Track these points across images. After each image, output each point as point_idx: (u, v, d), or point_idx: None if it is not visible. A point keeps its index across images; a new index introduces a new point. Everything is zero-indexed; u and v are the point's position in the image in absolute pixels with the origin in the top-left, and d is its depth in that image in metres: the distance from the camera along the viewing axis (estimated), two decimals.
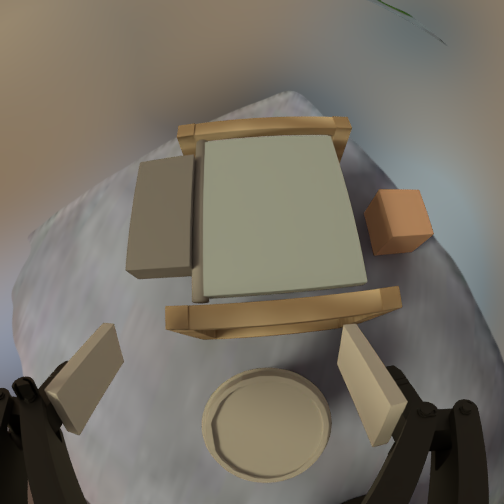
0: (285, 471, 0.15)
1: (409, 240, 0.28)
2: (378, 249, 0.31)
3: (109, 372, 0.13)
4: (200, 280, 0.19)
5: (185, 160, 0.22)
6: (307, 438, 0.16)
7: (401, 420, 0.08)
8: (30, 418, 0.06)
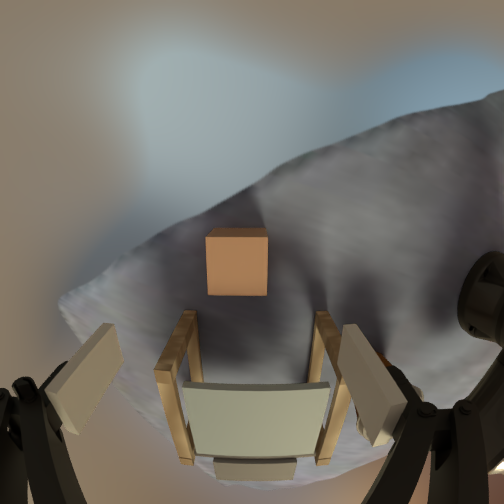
0: None
1: None
2: None
3: (109, 372, 0.13)
4: (304, 455, 0.26)
5: (218, 465, 0.26)
6: None
7: (401, 420, 0.08)
8: (30, 418, 0.06)
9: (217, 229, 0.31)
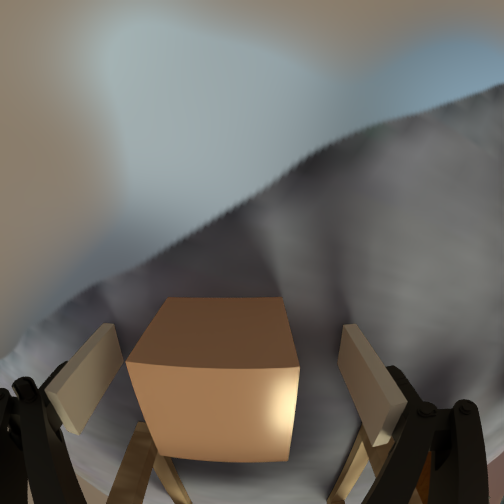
0: None
1: None
2: None
3: (109, 372, 0.13)
4: None
5: None
6: None
7: (401, 420, 0.08)
8: (30, 418, 0.06)
9: (171, 307, 0.13)
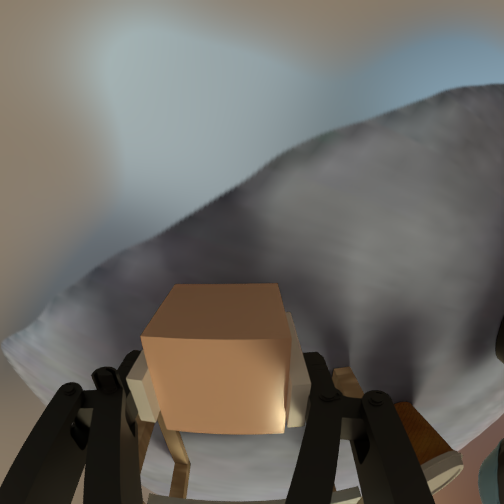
0: (456, 470, 0.14)
1: None
2: None
3: None
4: None
5: None
6: (444, 472, 0.14)
7: (308, 402, 0.10)
8: (105, 410, 0.08)
9: (178, 293, 0.15)
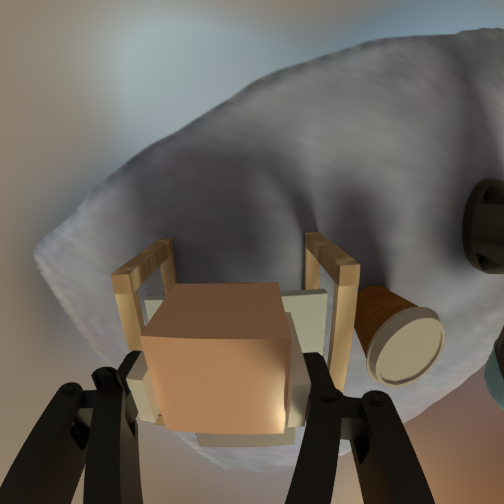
0: (439, 338, 0.23)
1: None
2: None
3: None
4: None
5: None
6: (423, 329, 0.22)
7: (308, 402, 0.10)
8: (105, 410, 0.08)
9: (178, 292, 0.15)
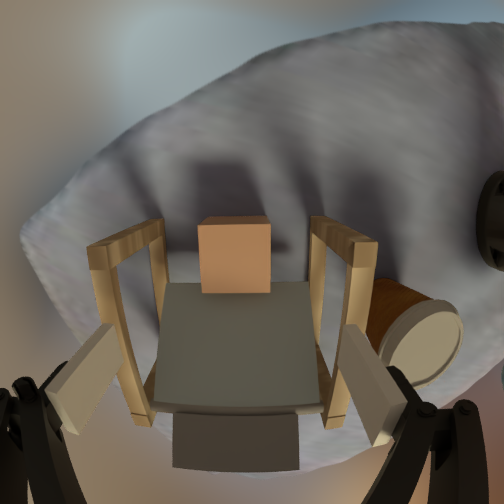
0: (457, 336, 0.19)
1: None
2: (268, 273, 0.24)
3: (109, 372, 0.13)
4: (306, 405, 0.20)
5: (180, 421, 0.19)
6: (442, 324, 0.19)
7: (401, 420, 0.08)
8: (30, 418, 0.06)
9: None
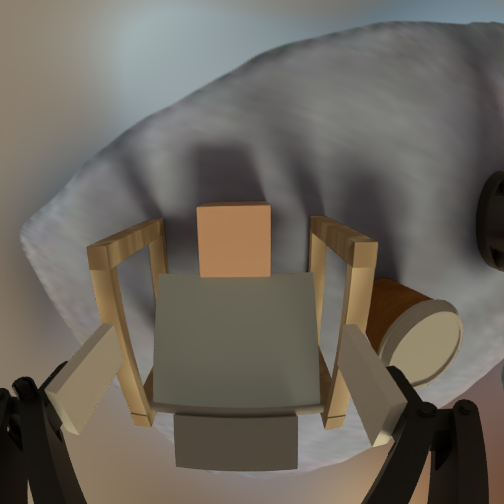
0: (457, 336, 0.19)
1: None
2: (268, 256, 0.23)
3: (109, 372, 0.13)
4: (306, 406, 0.20)
5: (180, 423, 0.19)
6: (442, 324, 0.19)
7: (401, 420, 0.08)
8: (30, 418, 0.06)
9: None
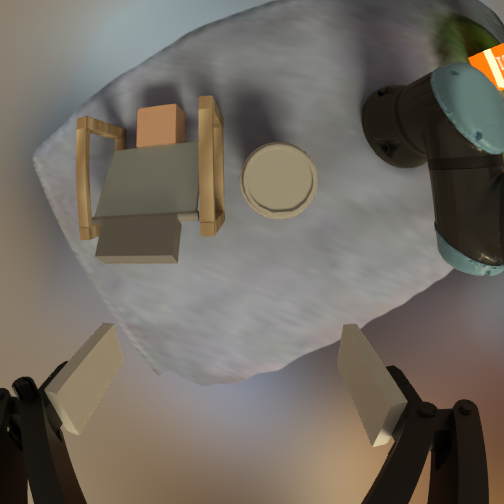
0: (309, 171, 0.32)
1: (181, 117, 0.38)
2: (174, 131, 0.35)
3: (109, 372, 0.13)
4: (185, 213, 0.32)
5: (105, 224, 0.31)
6: (287, 157, 0.31)
7: (401, 420, 0.08)
8: (30, 418, 0.06)
9: None
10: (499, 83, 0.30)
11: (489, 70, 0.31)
